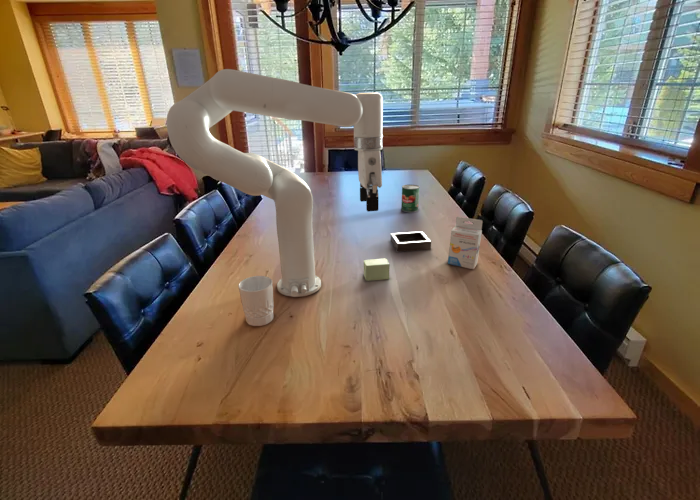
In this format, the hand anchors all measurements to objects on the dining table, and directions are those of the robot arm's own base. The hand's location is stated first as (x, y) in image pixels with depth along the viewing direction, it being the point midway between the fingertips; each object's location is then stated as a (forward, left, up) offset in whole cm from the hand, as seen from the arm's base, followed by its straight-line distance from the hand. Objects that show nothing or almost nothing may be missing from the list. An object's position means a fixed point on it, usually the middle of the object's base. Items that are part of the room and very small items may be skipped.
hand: (368, 205), depth 105 cm
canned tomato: (+61, -31, -22) cm, 72 cm away
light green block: (-2, -2, -22) cm, 22 cm away
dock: (+20, -19, -22) cm, 35 cm away
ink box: (+2, -31, -22) cm, 38 cm away
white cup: (-19, +31, -22) cm, 43 cm away
